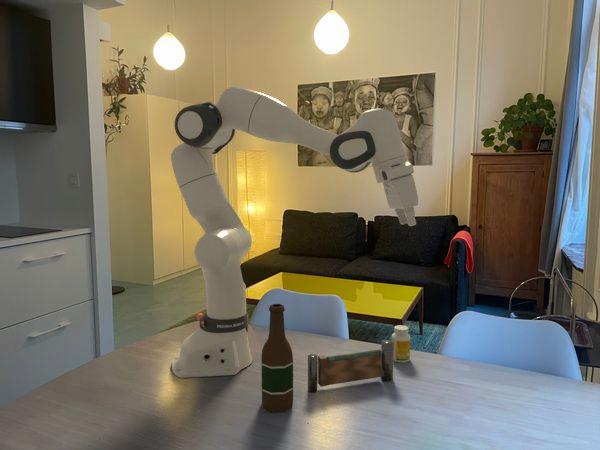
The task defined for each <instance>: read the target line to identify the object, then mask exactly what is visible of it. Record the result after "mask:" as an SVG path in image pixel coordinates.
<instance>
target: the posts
mask: <svg viewBox="0 0 600 450" xmlns="http://www.w3.org/2000/svg"><path fill="white" fill-rule="evenodd" d="M380 347H381V348H380V350H381V352H382V354H381V355H382V364H381V377H380V380H381V381H384V382H392V381H393V380H394V361H393V359H394V342H393V341H391V340H390V339H384V340H381V346H380ZM318 356H319V355H317V353H316V354H315V353H310V354H308V355H307V392H309V393H311V394H314V393H318Z"/></svg>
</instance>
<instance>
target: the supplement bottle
mask: <svg viewBox="0 0 600 450" xmlns="http://www.w3.org/2000/svg"><path fill="white" fill-rule="evenodd" d="M393 331H394V332H393V333H392V334H391V340H390V341H393V342H394V359H393V362H396V363H403V364H404V363H408V362H409V361H410V358H411V335H410V334H409V332H410V331H409V327H408V326H407V325H404V324H403V325H401V324H399V325H395V326H394V329H393Z"/></svg>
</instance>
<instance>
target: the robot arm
mask: <svg viewBox="0 0 600 450" xmlns="http://www.w3.org/2000/svg"><path fill="white" fill-rule="evenodd" d="M174 130H175V133H176V135H177V137H178V139H179V140H181V141H182V143H180V144H178V145H176V147H174V148H173V150H172V152H171V154H170V160H171V166H172V170H173V174H174V177H175V180H176V183H177V185H178V188H179V191H180V193H181V196H182V198H183V201H184V202H185V205H186V208H187V210H188V212H189V214H190V216H191V217H192V218H193V219H194V220H196V222H197V223H198V224H199V226H201V228H202V230H203V231H204V234H203V235H202V236H201V237H200V238H199V239H198V241H197V242H196V244H195V247H194V257H195V260H196V262H197V263H198V265H199V266H200V267H201V272H202V275H203V279H204V284H205V293H206V294H205V295H206V300H205V301H206V313H205V314H203V313H202V312H199V313H197V314H196V319H197V321H198V322H199V323H198V324H199V328H198V329H196V330H195V331H194V332H193V333H191V334H189V336H188V337H186V338H184V340H183V341H182V342H181V343H182V344H181V345H180V346H181V347H180V351H179V354H177V355H175V356H174V357H173V359H172V361H171V371H172V372H173V374H174V375H175V376H176V377H178V378H180V379H181V378H199V377H218V376H219V377H221V376H222V377H223V376H234V375H237V374H238V373H239V372H240V371H241V370H242V369H244V368H247V367H249V365H251V364H252V363H253V356H252V352H251V350H250V343H249V339H248V338H249V337H248V331H249V315H248V312H247V287H246V286H247V285H246V283H245V282H244V278H243V274H242V269H241V260H242V259H244V258H245V257H246V256H247V255H248V254H249V252H250V250H251V247H252V245H253V242H252V241H253V239H252V238H253V237H252V235H251V232H250V231H249V230H248V228H246V227H245V225H244V224H243V223H242V221H241V218H240V217H239V215H238V214H237V212H236V211H235V209H234V207H233V205H232V204H231V202H230V201H229V199H228V197H227V194H226V192H225V189H224V186H223V185H222V182H221V180H220V177H219V174H218V172H217V170H216V168H215V166H214V162H213V155H216V154H218V153H219V152H220V151H221V150H222V149H223V148H224V147H226V146H227V145H228V144H229V143H230V142H232V140H233V139H234V137H235V135H236V130H238V131H240V132H243V133H246V134H248V135H251V136H253V137H256V138H259V139H262V140H266V141H270V142H275V143H284V144H285V143H286V144H293V145H299V146H302V147H305V148H308V149H310V150H313V151H315V152H316V153H321V154H323V155H325V156H327V157H329V158H330V159H331V161H332V163H333V164H334V165H335V166H336V167H338V168H339V169H341V170H344V171H346V172H349V173H352V174H353V173H354V174H355V173H360V172H362V171H364V170H366V169H367V168H368V167H369V166H370V164H371V166H372V169H373V173H374V176H375V179H376V182H377V184H381V183H382V184H383V188H384V190H383V191H384V193H385V198H386V201H387V204H388V207H389V209H394V212H395V214H396V216H397V218H398V220H399V224H400V225H406V224H407V225H408V227H413V226H416V225H417V220H416V212H415V207H416V206H418V205H419V196H418V191H417V186H416V181H415V178H414V176H413V174H414V173H415V170H414V166H413V164H412V163H410V160H409V157H408V154H407V152H406V151H405V149H404V146H403V138H402V137H403V136H402V134H401V131H400V127H399V124H398V121H397V119H396V117H395V116H394V114H393V113H392V111H391V110H389V109H386V108H372V109H369V110H366V111H363V112H361V114H360V115H359V117H358V119H357V120H356V121H355V122H353V124H352V125H351V126H349V127H348V128H347V129H345V131H343V132H342V133H340V134H336V133H334V132H331V131H329V130H327V129H324V128H321V127H319V126H317V125H315V124H313V123H310V122H309V121H307V120H305V119H304V118H303V117H301V115H299V114H298V113H297V112H296V111H294V110H293V109H291V107H289V106H288V105H286V104H284V103H283V102H281V101H280V100H278V99H277V98H274V97H273V96H270V95H267V94H265V93H262V92H259V91H256V90H254V89H249V88H245V87H240V86H229V87H228V88H226V89H224V90H223V92H222V93H221V95H220V96H219V99H218V101H217V102H216V103H215V104H214V103H212V102H210V101H207V102H206V101H205V102H201V103H196V104H191V105H188V106H185V107H184V108H182V109H181V110H180V111H178V112H177V114H176V117H175V118H174Z"/></svg>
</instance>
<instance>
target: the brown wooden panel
mask: <svg viewBox="0 0 600 450" xmlns="http://www.w3.org/2000/svg"><path fill="white" fill-rule="evenodd" d="M381 354H382V352H381V348H380V349H372V350H365V351H358V352H352V353H351V352H350V353H343V354H336V355H329V356H326V355H324V354H321V355H317V356H318V364H317V385H319V387H327V386H331V385H332V386H333V385H339V384H344V383H351V382H357V381H364V380H369V379H376V378H381V364H382V355H381Z"/></svg>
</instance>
